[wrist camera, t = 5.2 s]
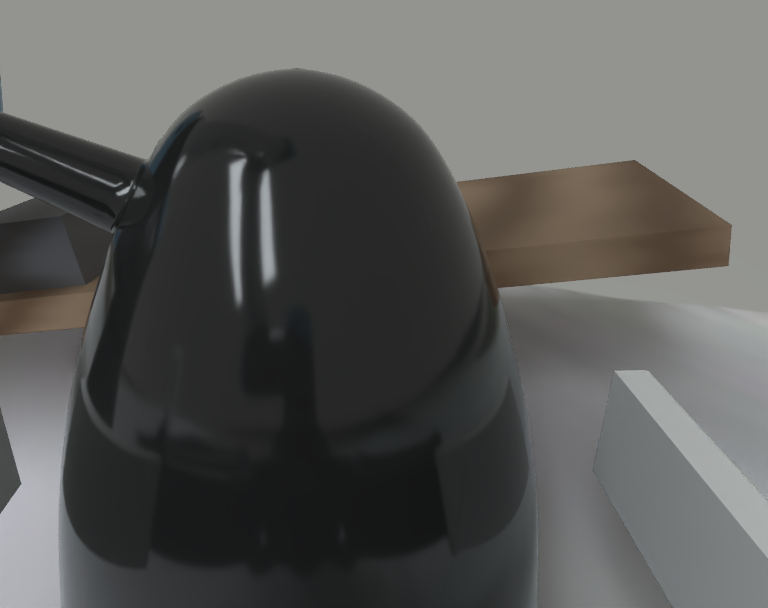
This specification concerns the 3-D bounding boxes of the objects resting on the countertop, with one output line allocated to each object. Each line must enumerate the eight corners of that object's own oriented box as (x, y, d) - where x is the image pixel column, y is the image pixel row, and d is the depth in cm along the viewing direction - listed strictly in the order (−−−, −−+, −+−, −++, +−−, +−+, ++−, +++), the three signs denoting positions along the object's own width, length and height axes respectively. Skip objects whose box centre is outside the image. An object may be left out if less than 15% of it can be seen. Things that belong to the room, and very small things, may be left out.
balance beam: (-22, 337, 26) (-68, 237, 24) (119, 248, 37) (94, 174, 35) (728, 265, 21) (738, 135, 19) (634, 188, 32) (635, 100, 30)
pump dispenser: (167, 541, 20) (89, 50, 14) (474, 539, 21) (530, 63, 14) (1, 973, 11) (-453, 81, 5) (566, 953, 11) (838, 115, 5)
